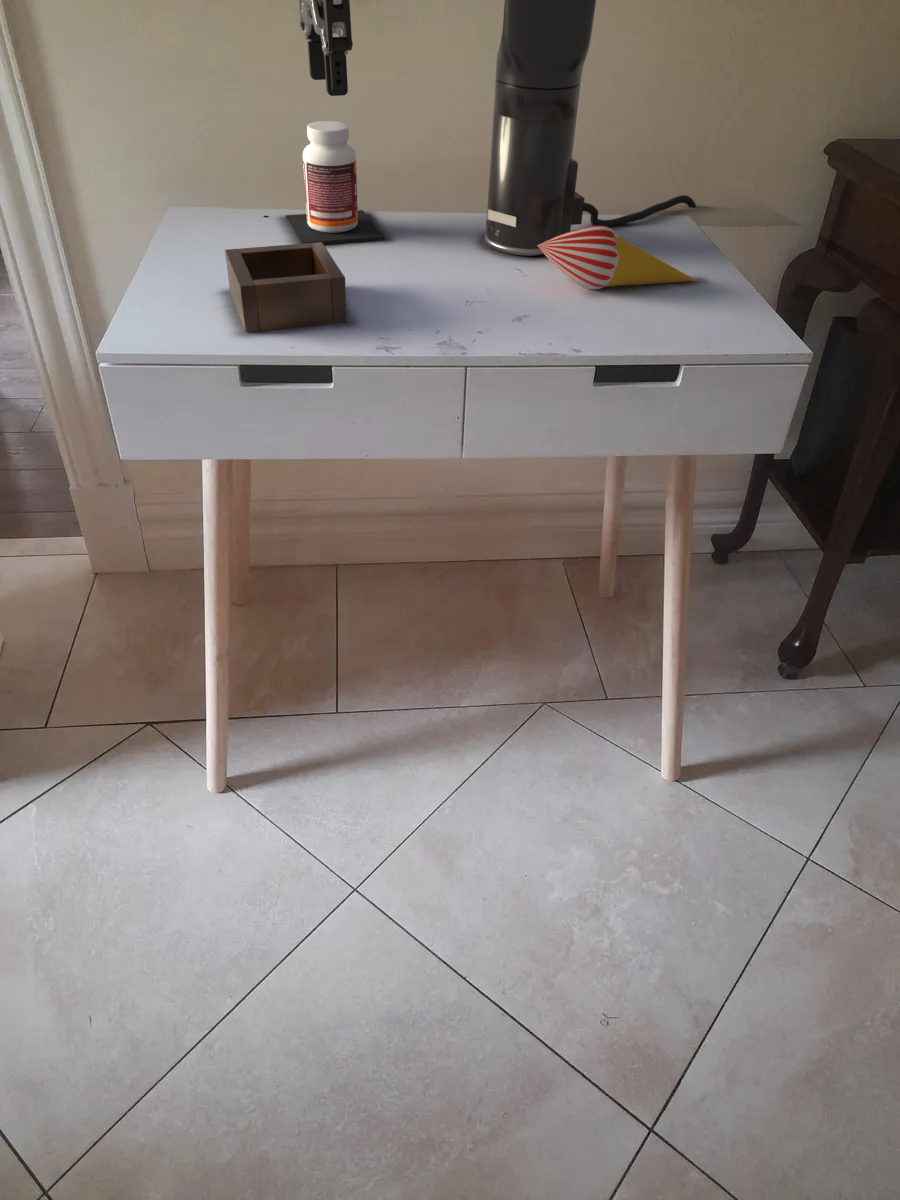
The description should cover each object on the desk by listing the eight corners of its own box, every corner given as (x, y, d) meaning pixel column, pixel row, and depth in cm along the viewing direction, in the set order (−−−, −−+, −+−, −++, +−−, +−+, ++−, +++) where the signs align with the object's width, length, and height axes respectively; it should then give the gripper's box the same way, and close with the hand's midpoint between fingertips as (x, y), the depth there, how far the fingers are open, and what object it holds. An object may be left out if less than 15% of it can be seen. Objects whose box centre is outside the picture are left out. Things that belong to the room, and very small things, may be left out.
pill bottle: (367, 229, 107) (365, 129, 100) (322, 237, 105) (316, 135, 97) (343, 214, 111) (339, 117, 104) (298, 222, 108) (291, 122, 101)
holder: (324, 284, 95) (322, 241, 92) (347, 322, 88) (345, 277, 85) (230, 293, 92) (224, 249, 89) (245, 332, 85) (240, 286, 82)
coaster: (363, 213, 113) (362, 209, 113) (384, 239, 106) (384, 236, 106) (285, 218, 111) (284, 215, 110) (301, 246, 103) (301, 242, 103)
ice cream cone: (684, 321, 102) (526, 290, 95) (677, 274, 104) (522, 240, 97) (717, 289, 96) (553, 253, 89) (710, 240, 98) (548, 201, 91)
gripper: (371, -94, 84) (378, 99, 94) (337, -103, 94) (346, 72, 104) (293, -94, 82) (308, 103, 92) (266, -103, 92) (283, 75, 103)
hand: (328, 86), depth 98 cm, fingers open, 8 cm apart
